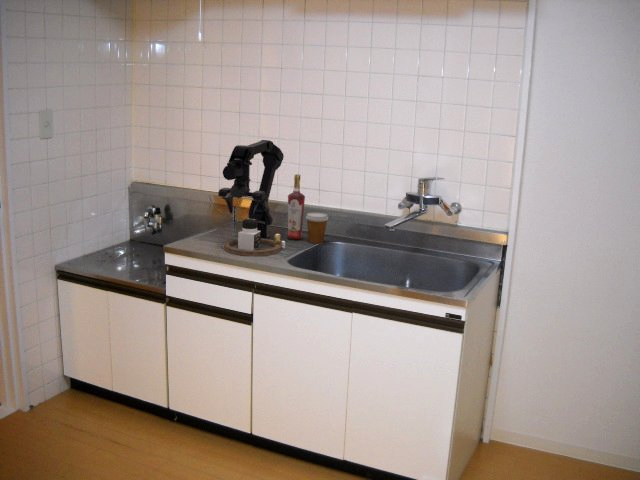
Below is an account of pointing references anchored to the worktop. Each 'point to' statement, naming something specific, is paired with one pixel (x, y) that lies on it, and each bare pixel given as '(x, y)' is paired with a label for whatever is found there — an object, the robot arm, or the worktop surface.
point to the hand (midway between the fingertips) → (241, 214)
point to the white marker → (283, 244)
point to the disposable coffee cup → (316, 227)
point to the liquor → (295, 211)
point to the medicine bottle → (249, 235)
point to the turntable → (254, 253)
